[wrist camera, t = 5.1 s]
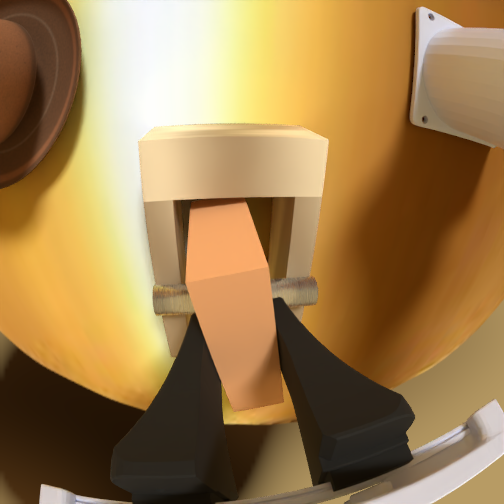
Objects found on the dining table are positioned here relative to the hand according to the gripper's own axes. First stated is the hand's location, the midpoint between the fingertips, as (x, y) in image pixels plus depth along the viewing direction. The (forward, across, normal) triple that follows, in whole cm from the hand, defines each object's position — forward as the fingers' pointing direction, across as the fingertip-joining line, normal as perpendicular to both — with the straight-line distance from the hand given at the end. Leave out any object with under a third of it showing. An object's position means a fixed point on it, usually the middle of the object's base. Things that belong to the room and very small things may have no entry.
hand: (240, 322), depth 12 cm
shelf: (+6, 0, -1) cm, 6 cm away
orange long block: (+4, 0, 0) cm, 4 cm away
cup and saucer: (+7, +11, -13) cm, 18 cm away
